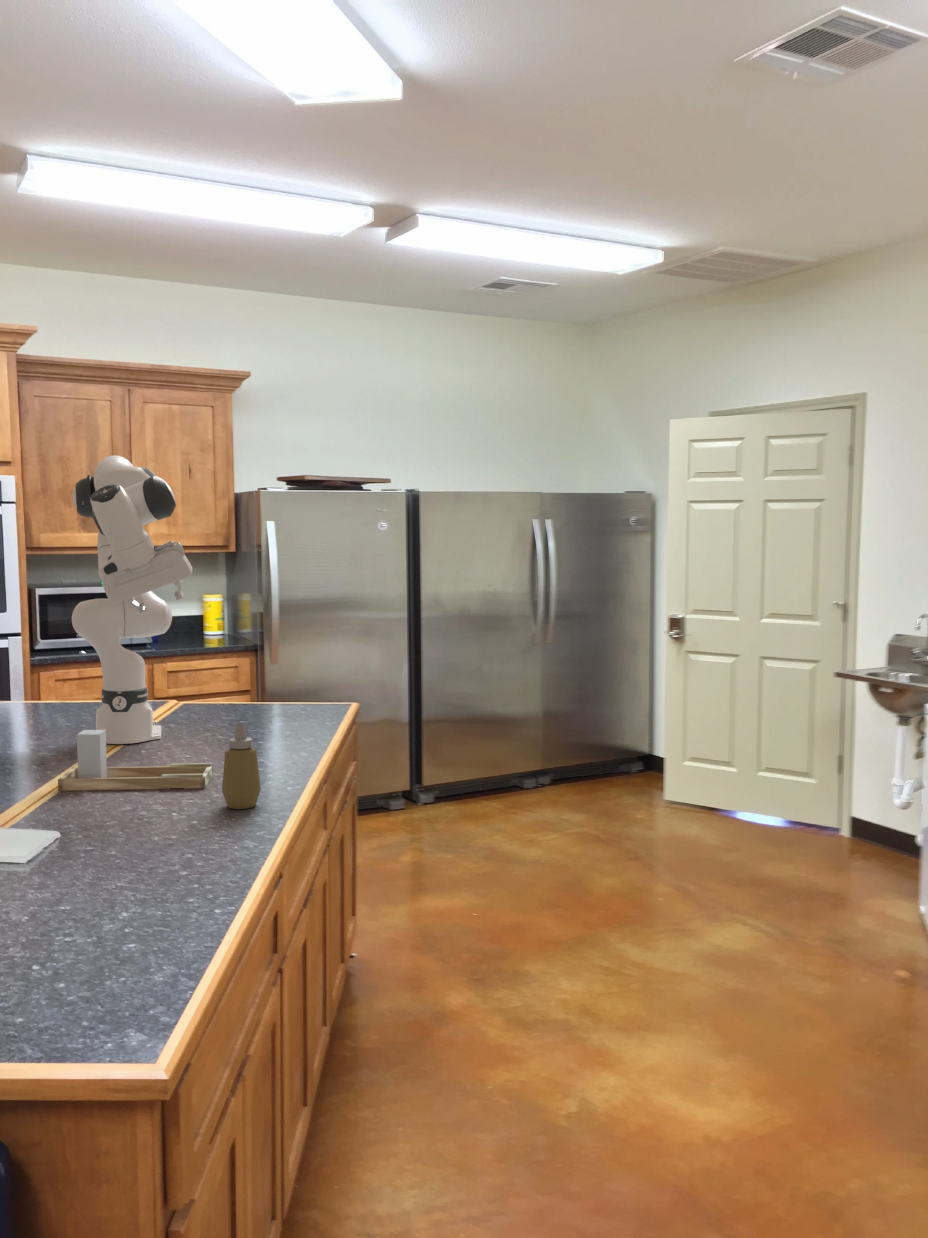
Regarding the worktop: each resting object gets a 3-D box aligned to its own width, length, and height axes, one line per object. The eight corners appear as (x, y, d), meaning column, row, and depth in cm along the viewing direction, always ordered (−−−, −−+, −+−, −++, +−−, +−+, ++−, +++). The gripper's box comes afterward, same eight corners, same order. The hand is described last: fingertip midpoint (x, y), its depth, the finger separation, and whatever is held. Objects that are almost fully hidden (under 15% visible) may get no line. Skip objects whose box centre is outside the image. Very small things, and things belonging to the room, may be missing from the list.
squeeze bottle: (268, 803, 212) (267, 719, 211) (248, 813, 205) (247, 727, 203) (235, 799, 215) (234, 717, 213) (214, 809, 207) (212, 724, 206)
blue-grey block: (84, 781, 229) (83, 730, 228) (107, 781, 230) (105, 729, 228) (78, 787, 224) (76, 734, 223) (101, 786, 225) (99, 734, 223)
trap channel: (73, 778, 232) (72, 765, 232) (212, 775, 235) (212, 763, 235) (58, 790, 221) (57, 777, 221) (205, 788, 224) (204, 774, 224)
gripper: (180, 533, 232) (204, 585, 238) (96, 563, 231) (123, 614, 237) (177, 542, 226) (202, 595, 232) (92, 573, 226) (119, 624, 232)
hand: (161, 605), depth 235 cm, fingers open, 8 cm apart
